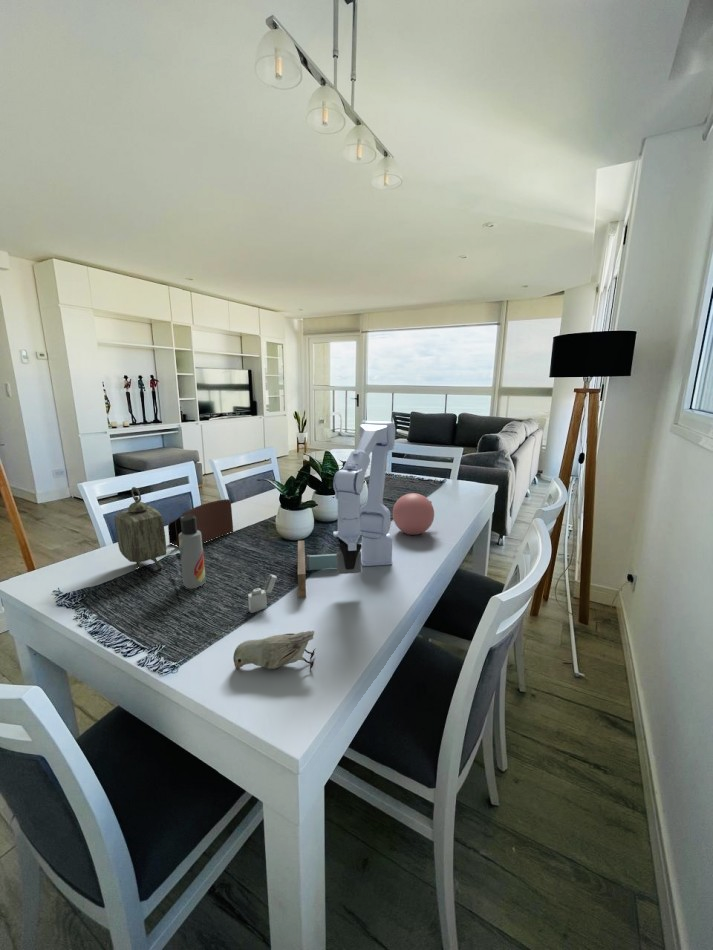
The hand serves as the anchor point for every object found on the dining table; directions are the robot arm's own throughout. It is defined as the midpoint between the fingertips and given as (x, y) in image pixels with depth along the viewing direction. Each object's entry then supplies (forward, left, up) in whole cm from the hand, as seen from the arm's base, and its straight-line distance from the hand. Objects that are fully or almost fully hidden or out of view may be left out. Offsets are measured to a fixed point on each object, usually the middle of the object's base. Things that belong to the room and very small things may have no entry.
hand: (348, 564), depth 101 cm
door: (+6, -14, -8) cm, 17 cm away
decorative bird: (+18, +26, -8) cm, 32 cm away
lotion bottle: (+42, -10, -8) cm, 44 cm away
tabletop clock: (+60, -23, -8) cm, 65 cm away
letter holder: (+48, -44, -8) cm, 66 cm away
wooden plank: (+12, -10, -8) cm, 18 cm away
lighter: (+22, +4, -8) cm, 24 cm away
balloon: (-31, -40, -8) cm, 51 cm away
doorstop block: (0, 0, -2) cm, 2 cm away
